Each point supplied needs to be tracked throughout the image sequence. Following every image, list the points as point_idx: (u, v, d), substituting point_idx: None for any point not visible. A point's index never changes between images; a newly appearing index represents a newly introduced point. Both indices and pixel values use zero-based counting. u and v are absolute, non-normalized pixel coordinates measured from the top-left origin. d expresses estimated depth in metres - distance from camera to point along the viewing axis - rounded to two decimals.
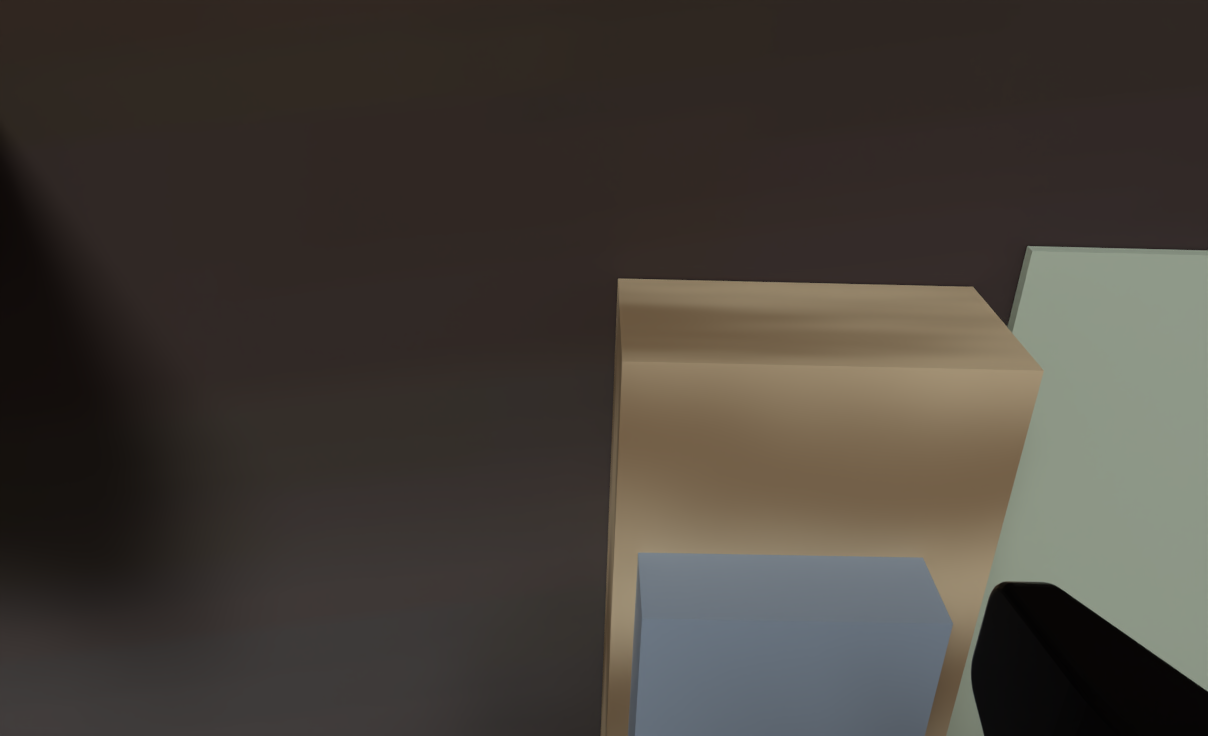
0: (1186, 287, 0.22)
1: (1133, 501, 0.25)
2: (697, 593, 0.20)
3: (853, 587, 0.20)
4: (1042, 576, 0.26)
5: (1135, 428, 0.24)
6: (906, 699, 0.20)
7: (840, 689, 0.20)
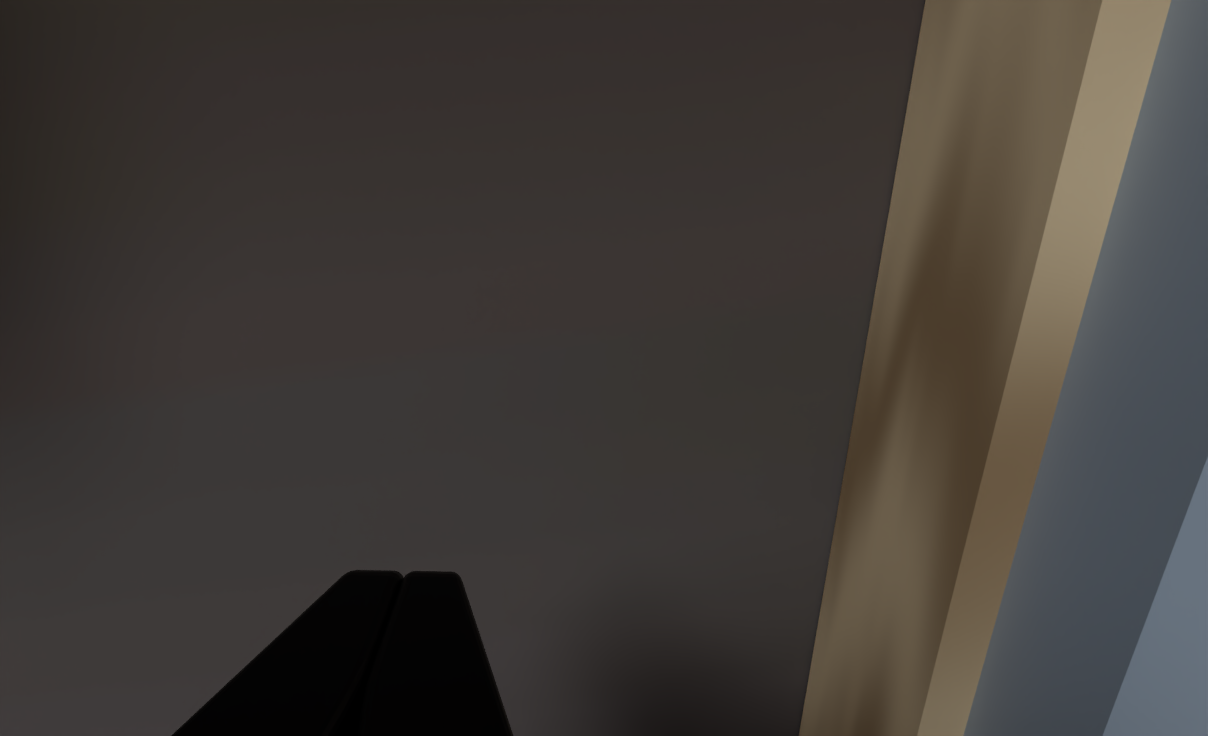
0: None
1: None
2: None
3: None
4: None
5: None
6: None
7: None
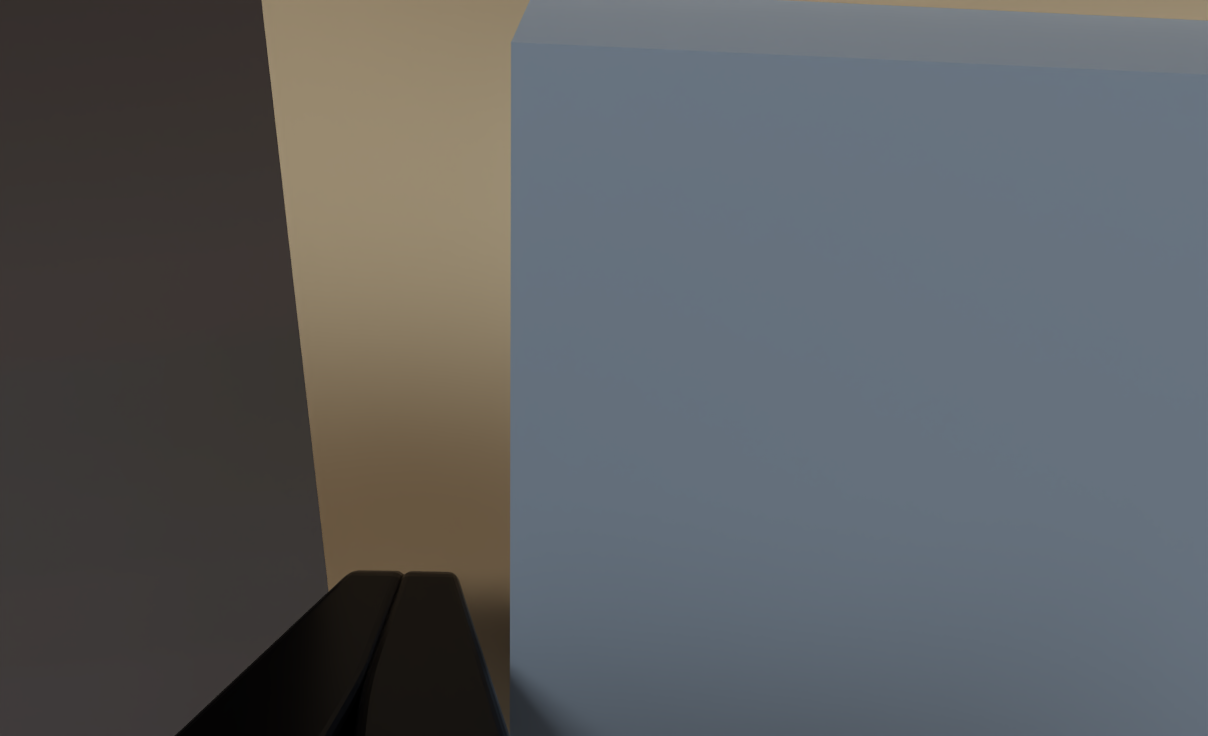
0: None
1: None
2: (728, 27, 0.05)
3: None
4: None
5: None
6: None
7: None
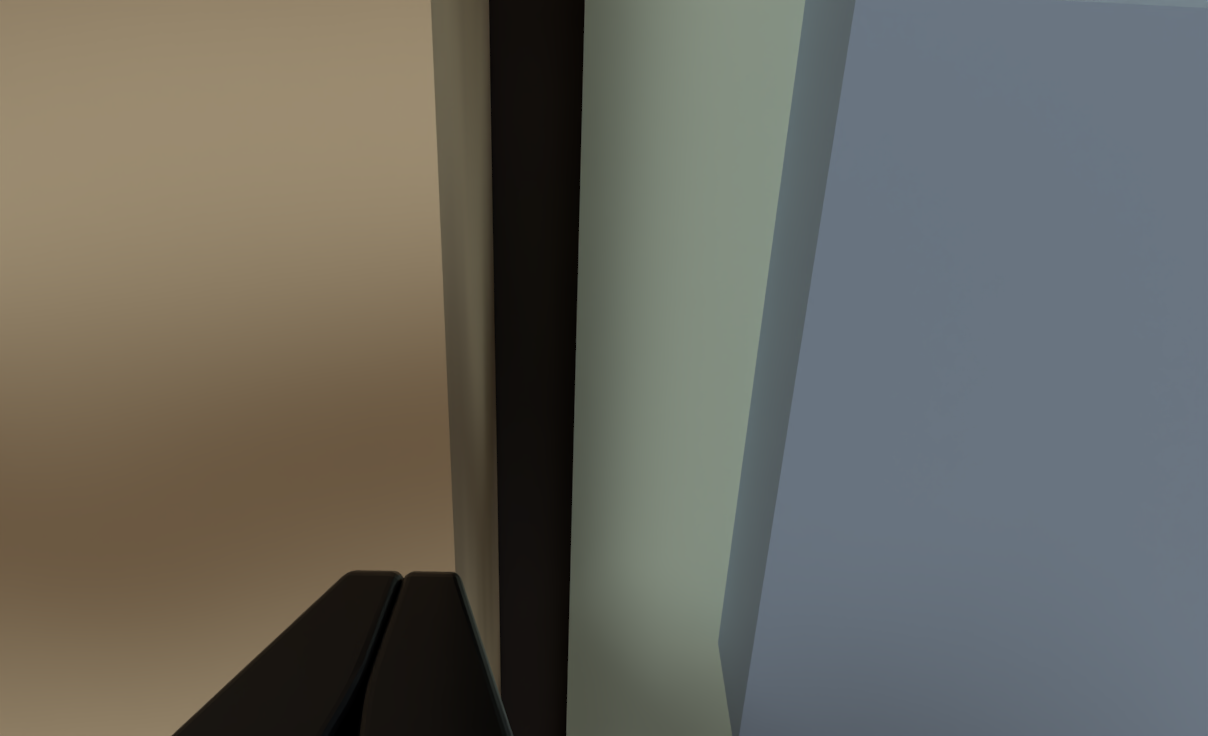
0: None
1: None
2: None
3: None
4: None
5: None
6: None
7: None
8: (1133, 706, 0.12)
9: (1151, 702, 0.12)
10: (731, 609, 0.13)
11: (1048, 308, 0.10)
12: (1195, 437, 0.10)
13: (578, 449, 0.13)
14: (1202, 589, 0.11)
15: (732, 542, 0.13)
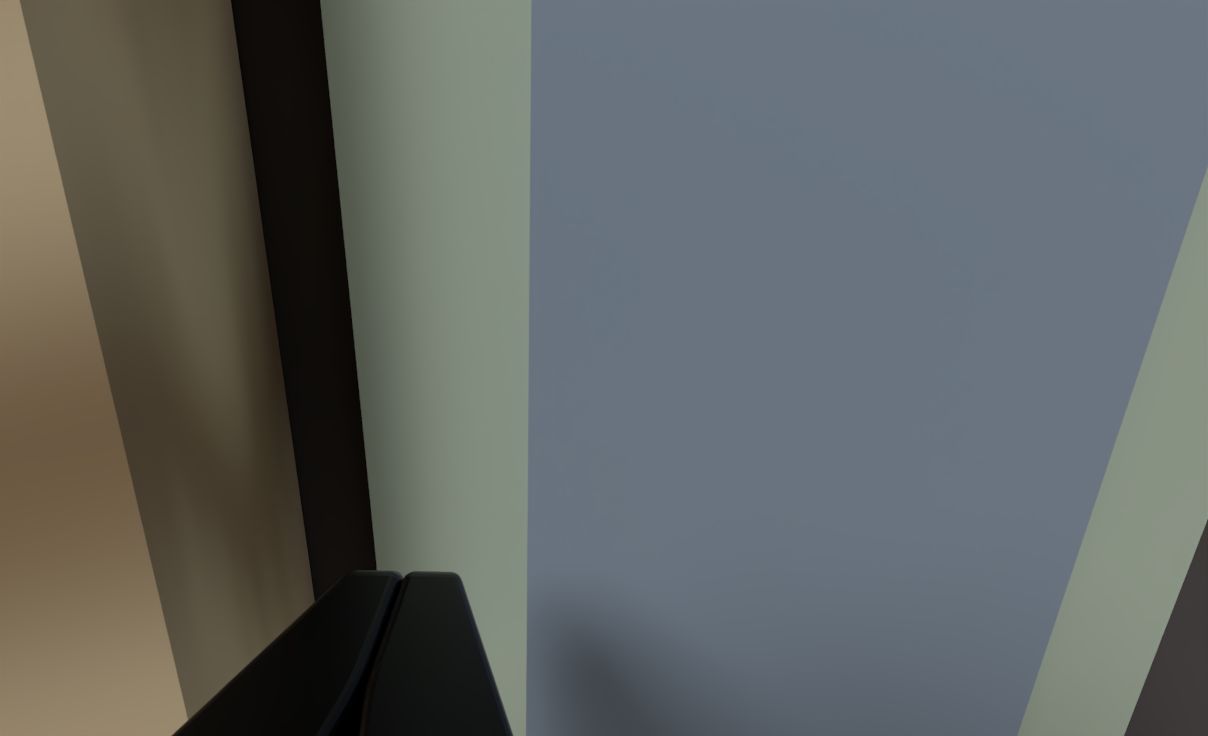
0: None
1: None
2: None
3: None
4: None
5: None
6: None
7: None
8: (922, 698, 0.12)
9: (940, 693, 0.12)
10: None
11: (776, 292, 0.09)
12: (945, 423, 0.10)
13: (370, 440, 0.12)
14: (976, 578, 0.11)
15: None
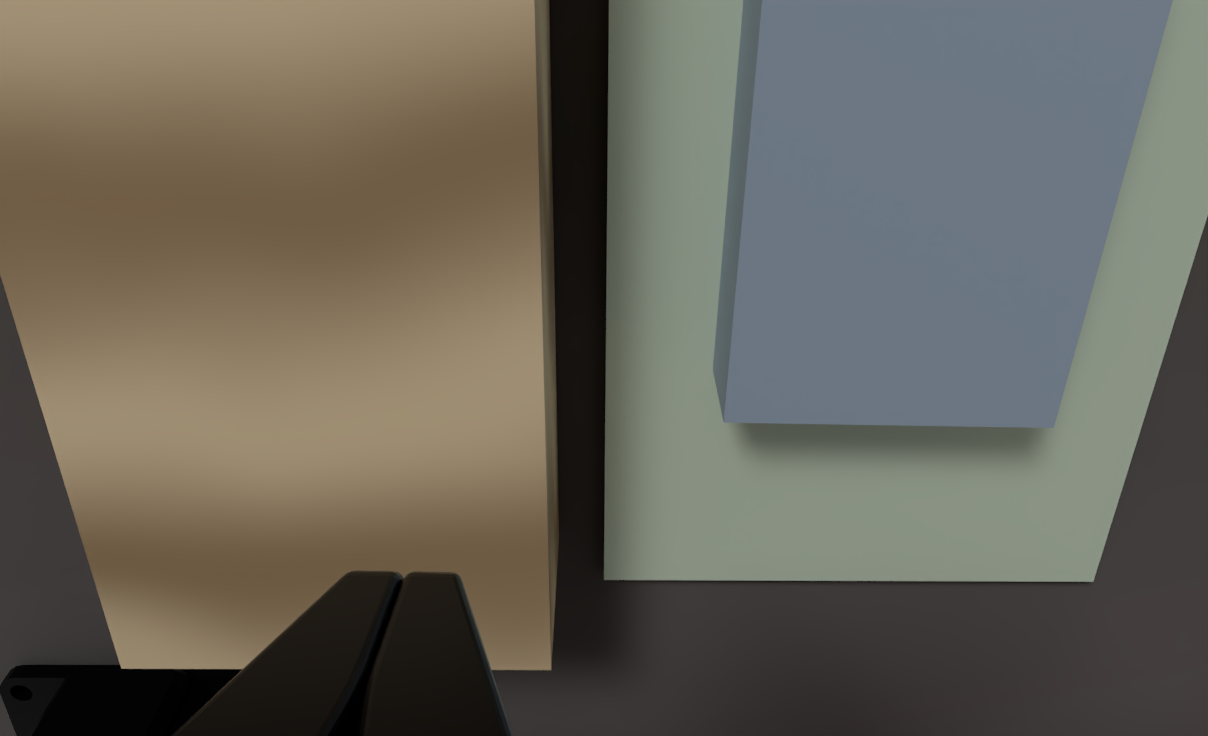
0: None
1: None
2: None
3: None
4: None
5: None
6: None
7: None
8: (995, 375, 0.17)
9: (1007, 371, 0.17)
10: (720, 331, 0.19)
11: (909, 73, 0.15)
12: (1014, 163, 0.16)
13: (611, 215, 0.18)
14: (1032, 281, 0.17)
15: None
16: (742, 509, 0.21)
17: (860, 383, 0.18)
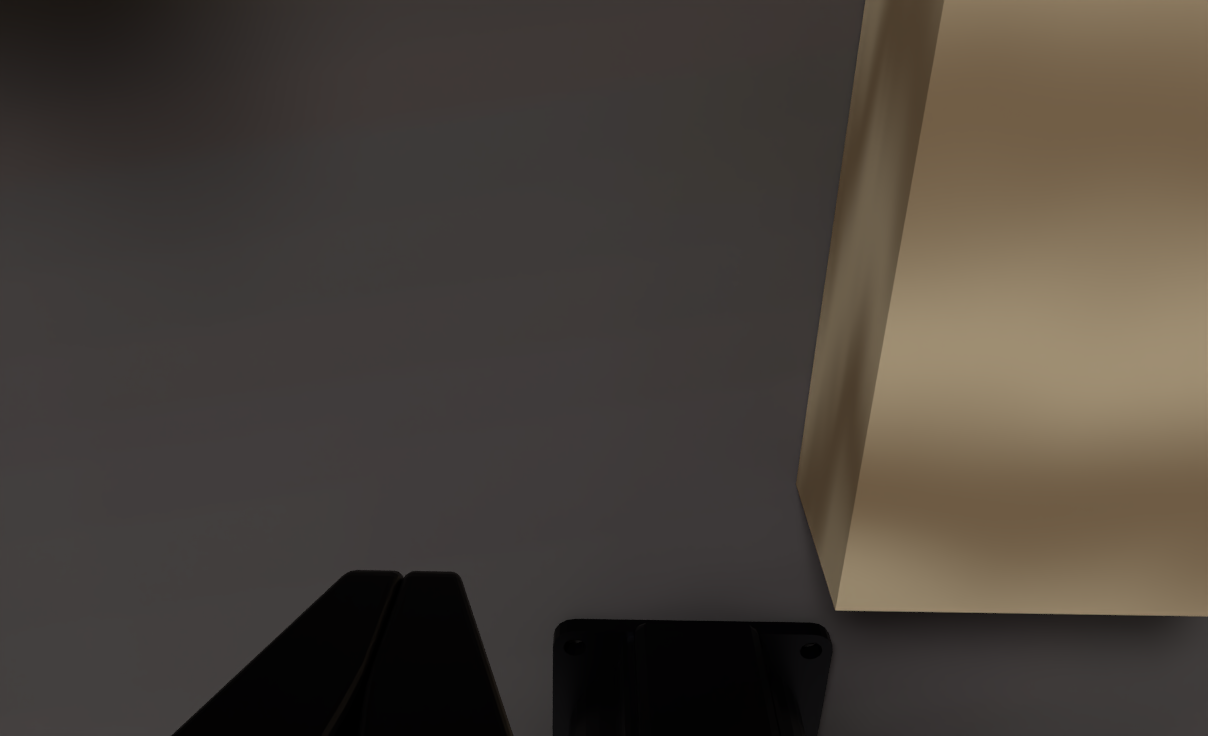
0: None
1: None
2: None
3: None
4: None
5: None
6: None
7: None
8: None
9: None
10: None
11: None
12: None
13: None
14: None
15: None
16: None
17: None
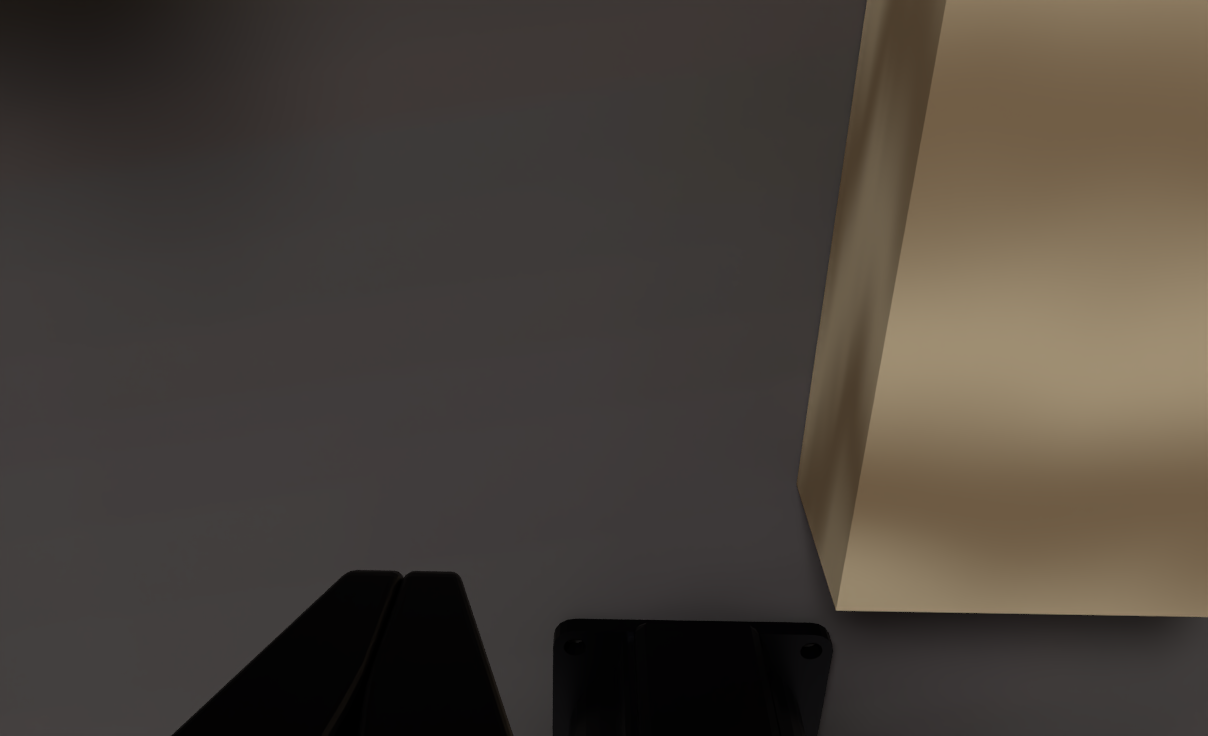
0: None
1: None
2: None
3: None
4: None
5: None
6: None
7: None
8: None
9: None
10: None
11: None
12: None
13: None
14: None
15: None
16: None
17: None
